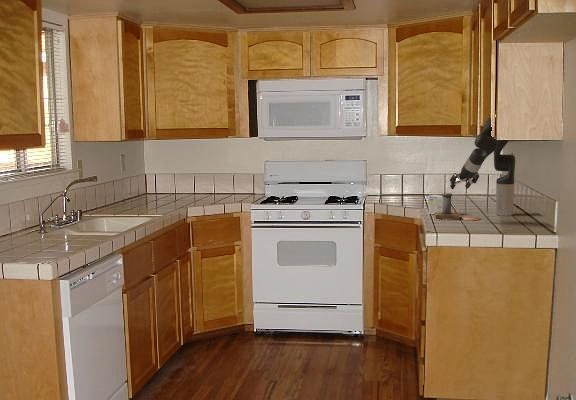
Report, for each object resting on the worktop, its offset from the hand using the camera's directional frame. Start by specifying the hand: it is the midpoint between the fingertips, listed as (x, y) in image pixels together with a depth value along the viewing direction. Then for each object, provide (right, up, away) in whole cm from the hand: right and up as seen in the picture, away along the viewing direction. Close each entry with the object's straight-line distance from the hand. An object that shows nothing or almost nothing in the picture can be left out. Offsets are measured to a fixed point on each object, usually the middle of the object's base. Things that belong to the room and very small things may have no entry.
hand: (459, 187), depth 327 cm
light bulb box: (-3, -15, +29) cm, 33 cm away
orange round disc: (+8, -16, +8) cm, 20 cm away
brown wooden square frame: (-3, -16, +13) cm, 21 cm away
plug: (-3, -16, +13) cm, 21 cm away
